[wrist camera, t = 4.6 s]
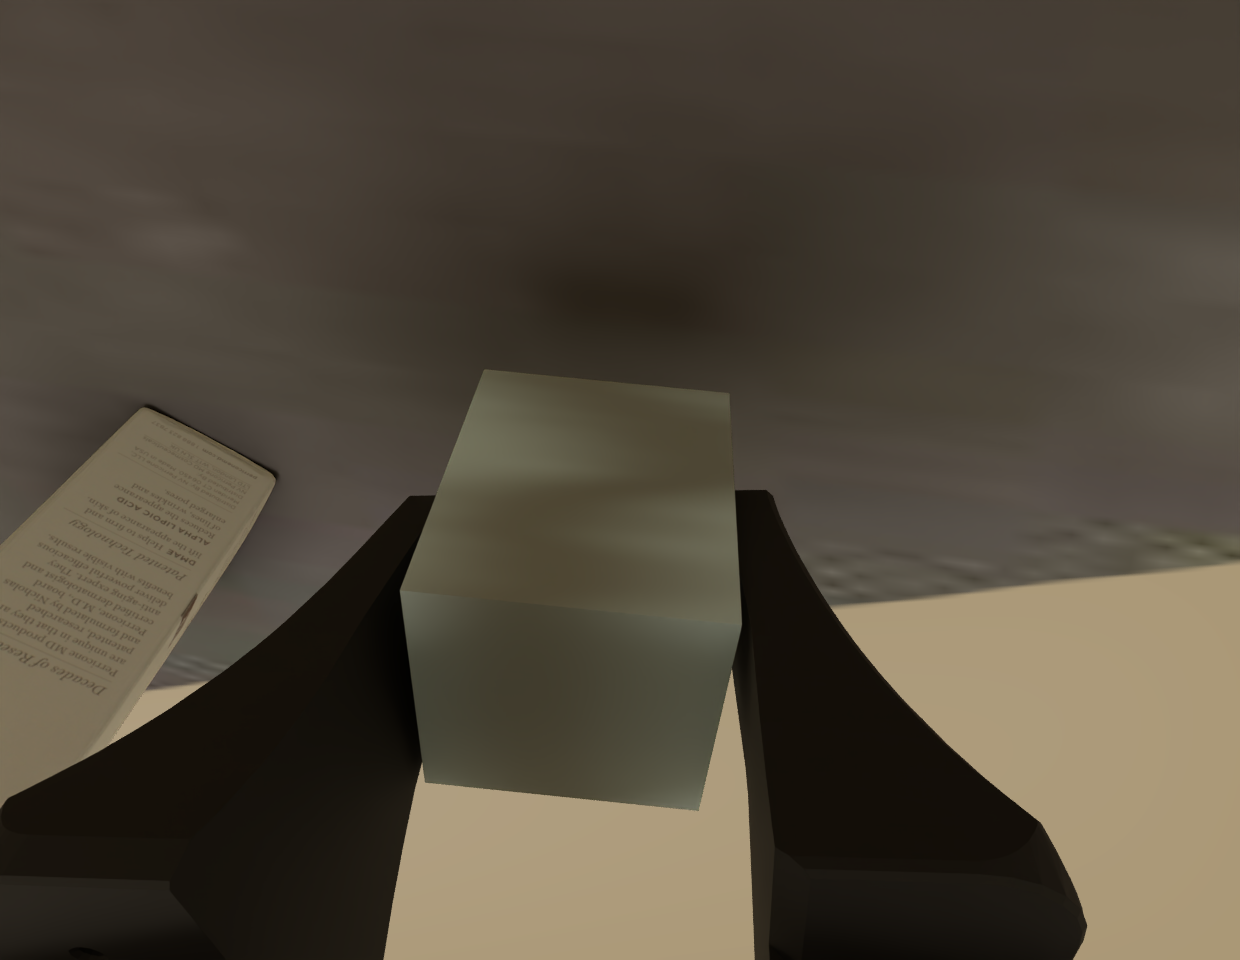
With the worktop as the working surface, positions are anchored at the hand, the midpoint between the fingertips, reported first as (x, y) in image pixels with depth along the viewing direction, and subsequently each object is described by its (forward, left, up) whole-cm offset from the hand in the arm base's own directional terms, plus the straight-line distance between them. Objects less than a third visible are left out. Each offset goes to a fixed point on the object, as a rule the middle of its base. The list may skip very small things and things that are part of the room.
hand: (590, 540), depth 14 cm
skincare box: (+13, +8, -9) cm, 18 cm away
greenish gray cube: (0, 0, -2) cm, 2 cm away
